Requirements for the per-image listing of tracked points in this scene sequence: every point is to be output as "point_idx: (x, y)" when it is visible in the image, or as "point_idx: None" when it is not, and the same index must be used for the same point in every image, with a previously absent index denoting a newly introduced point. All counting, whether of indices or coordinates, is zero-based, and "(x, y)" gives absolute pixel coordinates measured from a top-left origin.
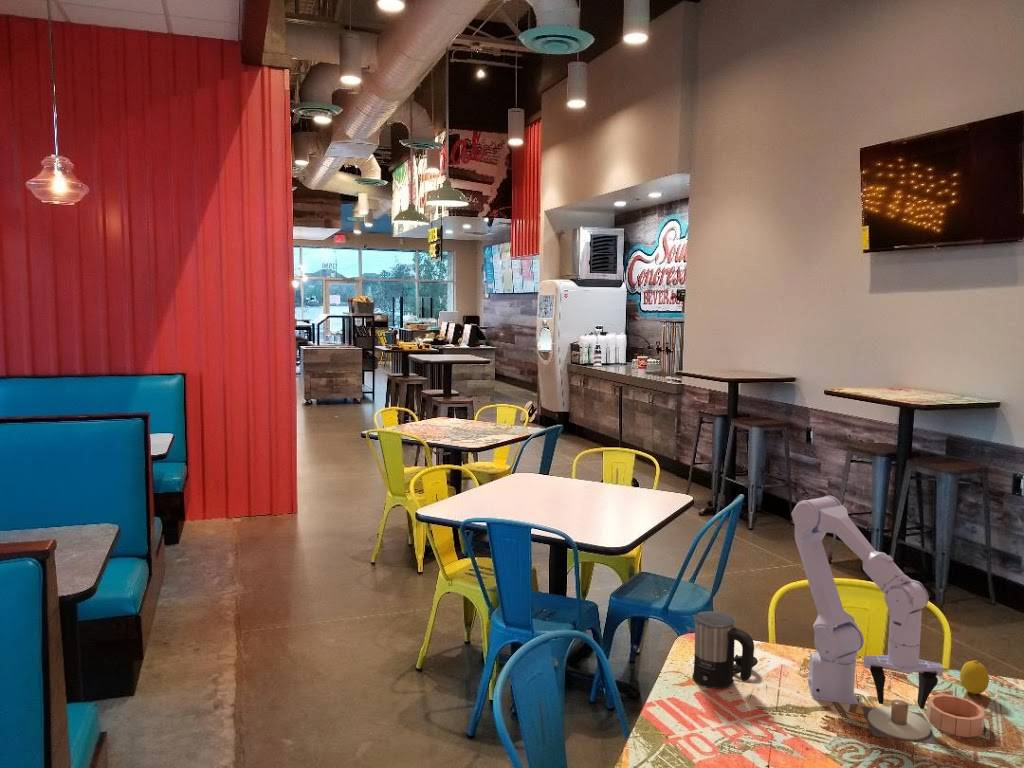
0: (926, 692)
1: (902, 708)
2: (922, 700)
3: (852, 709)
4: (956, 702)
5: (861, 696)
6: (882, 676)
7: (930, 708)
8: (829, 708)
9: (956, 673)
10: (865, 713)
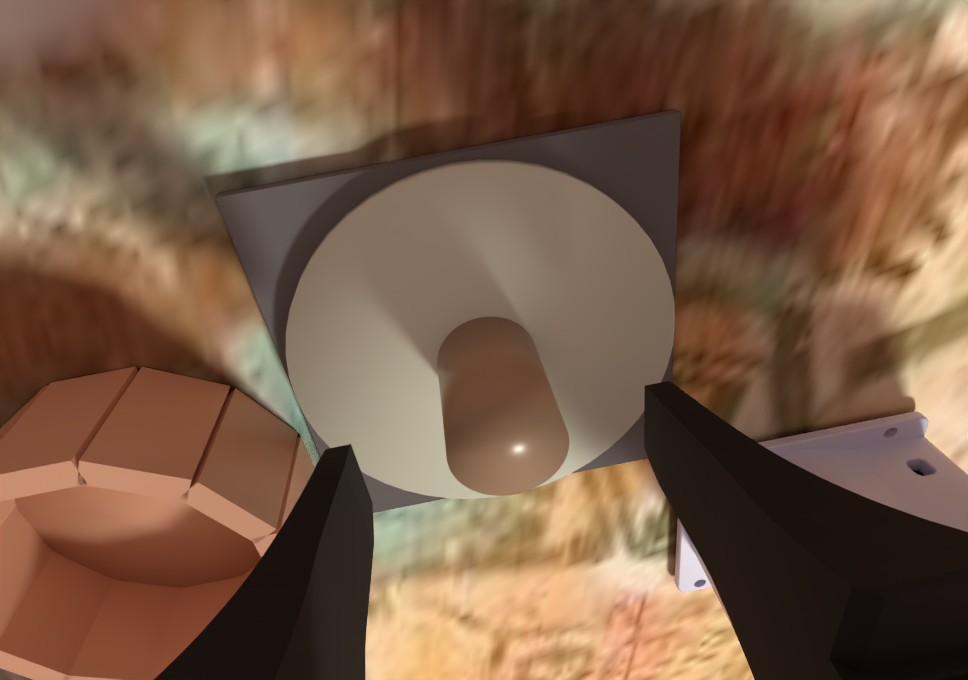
0: (279, 578)
1: (491, 396)
2: (328, 497)
3: (720, 409)
4: (151, 648)
5: (640, 542)
6: (908, 584)
7: None
8: (851, 366)
9: None
10: None
